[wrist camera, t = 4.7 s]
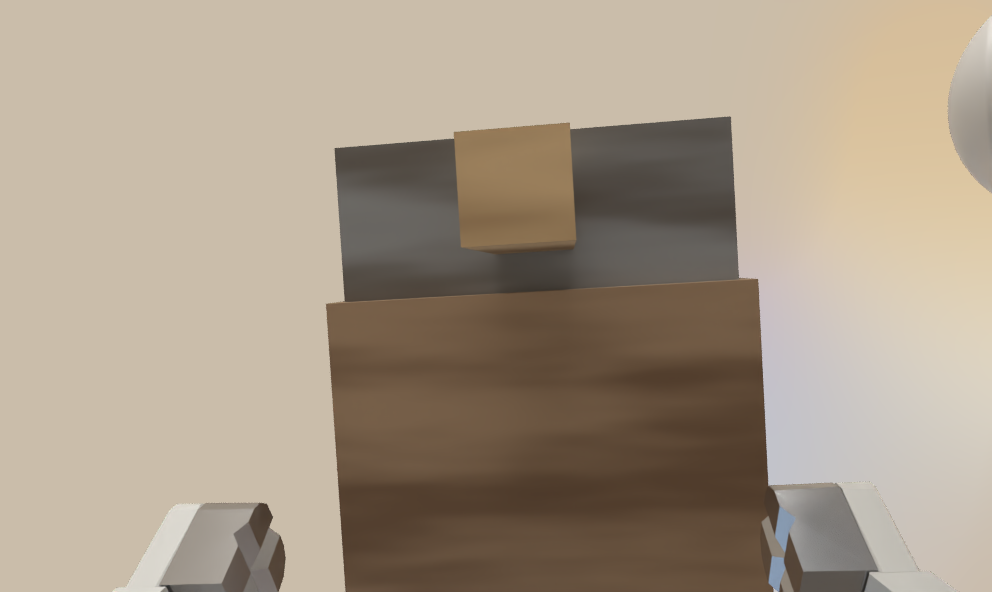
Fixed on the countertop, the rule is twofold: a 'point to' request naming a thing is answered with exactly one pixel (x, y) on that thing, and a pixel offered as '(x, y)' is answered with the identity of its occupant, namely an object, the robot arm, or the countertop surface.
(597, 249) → the t bar
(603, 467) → the post
